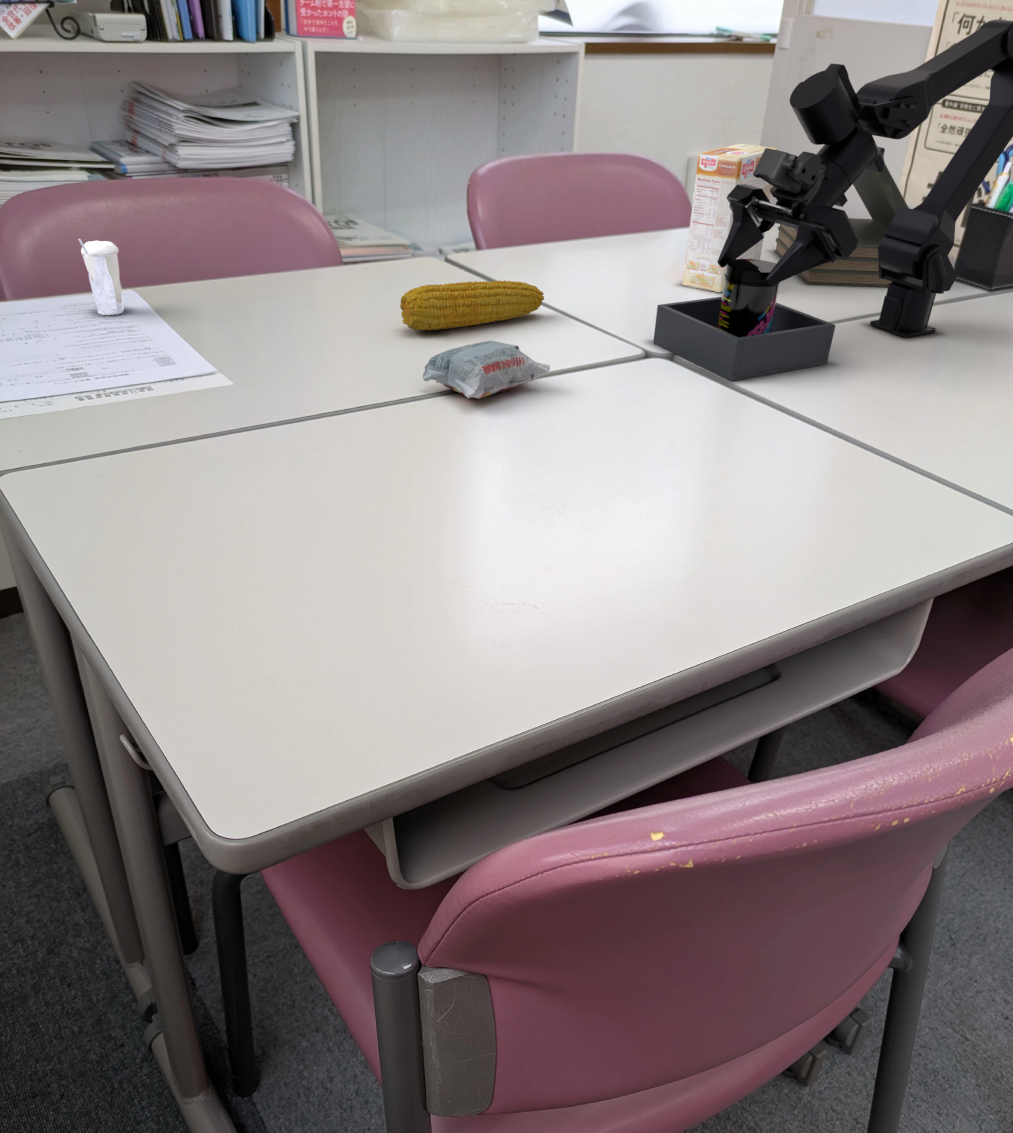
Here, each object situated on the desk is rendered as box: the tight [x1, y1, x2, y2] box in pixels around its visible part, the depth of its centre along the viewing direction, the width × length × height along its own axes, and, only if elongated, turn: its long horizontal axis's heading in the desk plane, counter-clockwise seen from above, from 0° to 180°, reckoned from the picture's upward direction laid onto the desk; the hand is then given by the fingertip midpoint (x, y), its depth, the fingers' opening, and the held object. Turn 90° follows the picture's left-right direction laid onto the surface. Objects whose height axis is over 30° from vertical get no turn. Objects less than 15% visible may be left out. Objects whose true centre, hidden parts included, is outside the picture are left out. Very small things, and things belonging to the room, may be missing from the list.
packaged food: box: [422, 339, 551, 400], centre depth 105 cm, size 9×12×5 cm
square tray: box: [652, 296, 836, 382], centre depth 120 cm, size 16×16×5 cm
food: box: [399, 280, 545, 331], centre depth 126 cm, size 21×6×6 cm, turn 123°
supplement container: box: [717, 259, 781, 337], centre depth 118 cm, size 7×7×10 cm
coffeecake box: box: [681, 143, 779, 293], centre depth 147 cm, size 15×7×20 cm, turn 144°
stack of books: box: [773, 163, 910, 288], centre depth 156 cm, size 23×20×25 cm
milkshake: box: [77, 238, 125, 316], centre depth 124 cm, size 4×5×10 cm
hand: (742, 273), depth 115 cm, fingers open, 9 cm apart
